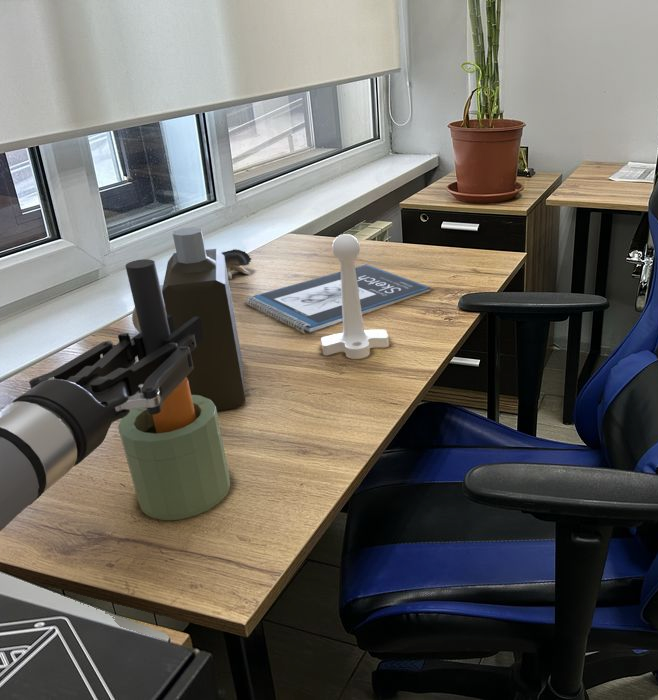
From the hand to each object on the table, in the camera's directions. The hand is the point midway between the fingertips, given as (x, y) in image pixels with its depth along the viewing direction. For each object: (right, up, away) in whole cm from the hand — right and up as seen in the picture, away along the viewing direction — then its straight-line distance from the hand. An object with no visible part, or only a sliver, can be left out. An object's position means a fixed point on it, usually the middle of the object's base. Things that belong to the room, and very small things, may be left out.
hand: (185, 326), depth 81 cm
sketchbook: (+7, +7, +61) cm, 61 cm away
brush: (-1, -14, +1) cm, 14 cm away
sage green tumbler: (-1, -20, +3) cm, 20 cm away
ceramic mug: (-22, +1, +48) cm, 53 cm away
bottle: (-6, -9, +27) cm, 29 cm away
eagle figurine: (-19, +13, +73) cm, 77 cm away
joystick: (+14, -3, +38) cm, 41 cm away
